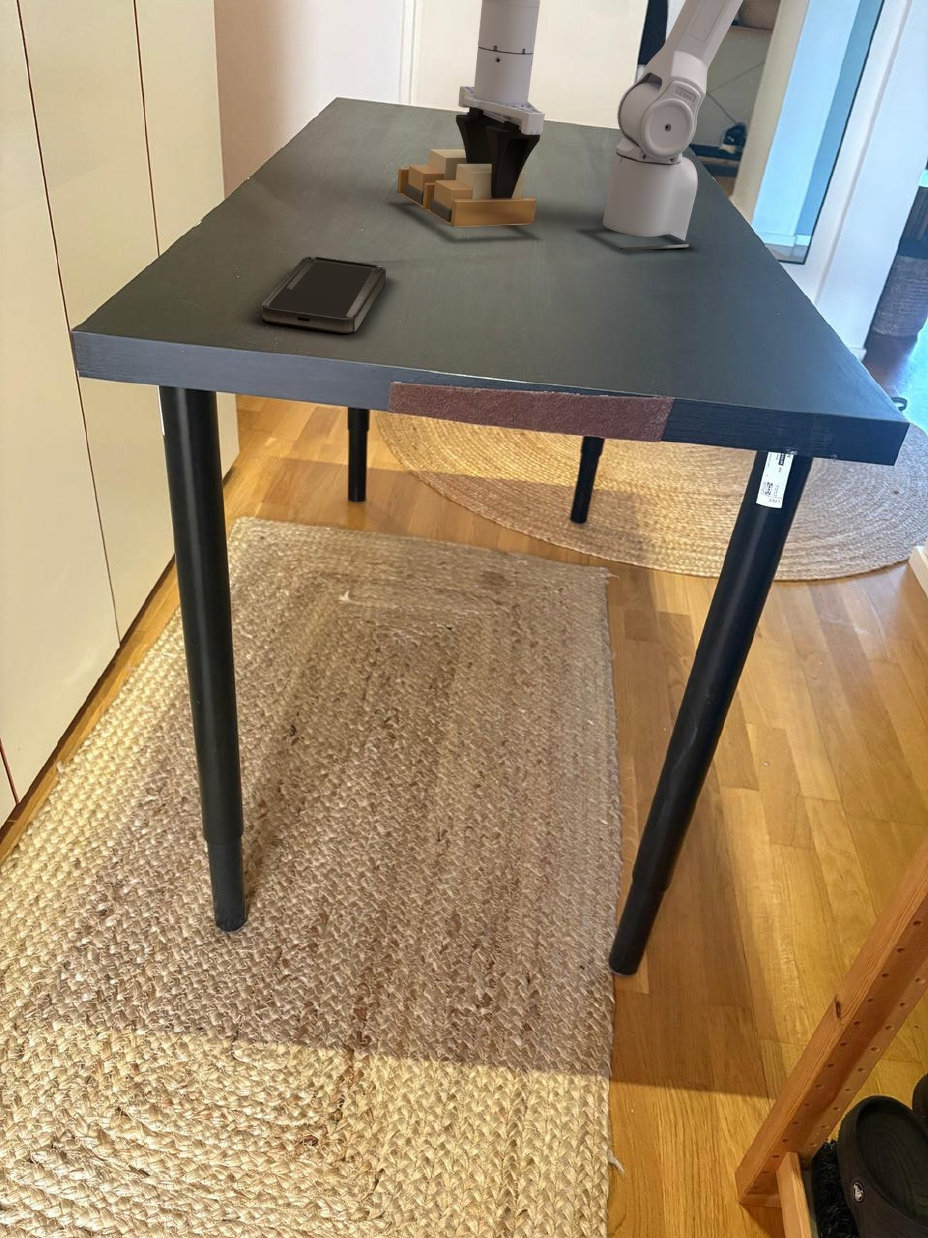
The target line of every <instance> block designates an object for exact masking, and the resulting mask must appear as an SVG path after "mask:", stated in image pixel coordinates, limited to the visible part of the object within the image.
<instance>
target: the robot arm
mask: <svg viewBox="0 0 928 1238" xmlns="http://www.w3.org/2000/svg"><path fill="white" fill-rule="evenodd" d="M743 2H744V0H685V1H684V3H683V5H682V7H681V9H680V11H679V13H678V15H677V17H676V19H675V22H674V23H673V25H672V28H671V30H670V31H669V33H668V36H667V38H666V40H665V42H664V44H663V46H662V47H661V48H660V50H658V52H657V53H656V54H655V55H654V56H653V57H652V58H650V60H649V61H648V63H647V64H646V66H645V68H644V70H643V72H642V74H641V76H639V78H638V79H637V81H636V82H634V84H632V85H631V86H630V87H629V88H628V89H627V90H626V91H625V92H624V93H623V95H622V97H621V99H620V101H619V104H618V108H617V113H616V114H617V115H616V116H617V117H616V118H617V123H618V128H619V130H620V132H621V133H622V138H621V139H620V141H619V142H618V143H617V145H616V147H615V153H614V159H613V165H612V169H611V176H610V180H609V186H608V191H607V196H606V201H605V202H606V203H605V208H604V212H603V219H602V225H603V226H604V227H605V228H606V229H608V230H611V231H614V232H617V233H620V234H624V235H628V236H636V237H645V238H648V237H650V238H651V237H652V238H653V237H654V238H655V237H660V236H667V235H671V236H673V237H675V238H677V239H680V240H682V241H684V242H686V237H687V233H688V229H689V224H690V221H691V217H692V212H693V208H694V204H695V199H696V196H697V192H698V183H699V182H698V172H697V169H696V166H695V165H694V163H693V162H692V160H690V159H689V158H687V157H685V156H683V152H684V151H686V149H687V148H688V147H689V146H690V145H691V143H692V141H693V139H694V138H695V137H694V136H695V134H696V131H697V130H696V129H697V125H698V114H699V110H700V108H701V106H702V103H703V101H704V99H705V97H706V94H707V84H708V83H707V82H708V81H707V80H708V70H709V68H710V66H711V64H712V62H713V61H714V58H715V56H716V54H717V52H718V50H719V48H720V46H721V45H722V42H723V41H724V40H725V39H724V38H725V37H726V35H727V33H728V31H729V29H730V27H731V25H732V23H733V21H734V19H735V17H736V15H737V13H738V11H739V10H740V7H741V5H742V3H743ZM540 4H541V0H481V8H480V18H479V19H480V20H479V29H478V31H479V32H478V40H477V51H476V61H475V62H476V63H475V73H474V84H473V86H468V85H467V86H465V85H460V86H459V93H458V95H459V96H458V102H457V103H458V104H457V106H458V107H460V108H463V109H467V108H468V111H467V112H466V114H462V113H461V114H460V113H459V114H456V115H455V123H456V126H457V127H458V130H459V133H460V136H461V139H462V143H463V149H464V150H465V154H466V161H467V164H492V173H491V194H492V199H502V198H512V196H513V193H514V190H515V187H516V185H517V182H518V179H519V176H520V174H521V171H523V169H524V166H525V164H526V163H527V160H528V159H529V157H530V155H531V153H532V152H533V151H534V149H535V147H536V146H537V145H538V143H539V142H540V141H541V135H543V130H544V124H545V115H546V113H545V112H542V111H540V110H538V109H537V108H536V107H535V106H534V105H533V104H531V102H529V93H530V86H531V77H532V70H533V69H532V68H533V63H534V62H533V60H534V55H535V54H534V52H535V46H536V45H535V44H536V37H537V30H538V22H539V13H540V6H541V5H540ZM689 246H690V243H689V244H669V245H667V244H666V245H647V246H632V247H630V246H629V247H628V246H627V247H619V249H620V250H622V251H641V250H642V251H644V250H660V249H661V250H663V249H679V248H682V249H683V248H689Z"/></svg>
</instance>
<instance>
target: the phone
mask: <svg viewBox="0 0 928 1238" xmlns="http://www.w3.org/2000/svg"><path fill="white" fill-rule="evenodd" d="M386 277H387V268H386V267H384V266H381V265H376V264H371V263H365V262H364V263H363V262H356V261H349V260H343V259H337V258H336V259H335V258H330V257H322V256H305V257H303V258H302V259H301V260H300V261H299V262H298V263H297V264H296V265H295V266H294V268H292V270H291V271H290V272H289V273H288V274H287V276H286V277H284V278H283V279H282V281H281V282H280V283H279V284H277V286H276V287H275V288H274V289H273V291H272V292H271V293H270V294H269V295H268V296H267V297H266V299H264V301H263V302H262V303H261V312H262V313H261V314H262V315H261V316H262V319H263V320H264V321H265V322H267V323H271V324H277V325H284V326H292V327H298V328H306V329H312V330H320V331H325V332H326V331H327V332H333V333H340V334H349V333H354V332H356V331H357V330H358V329H359V327H360V326H361V324H362V322H363V321H364V319H365V317H366V316H367V314H368V312H369V310H370V309H371V307H372V305H373V304H374V302H375V300H376V299H377V297H378V296H379V294H380V292H381V290H383V287H384V286H385V285H386V282H387V281H386Z"/></svg>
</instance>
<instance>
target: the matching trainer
mask: <svg viewBox="0 0 928 1238" xmlns="http://www.w3.org/2000/svg"><path fill="white" fill-rule="evenodd" d="M428 160H429V161H428V163H429V164H409V165H408V168H409V176H408V184H405V195H407V196H408V197H410V198H411V199H413V200H415V201H416V202H418V203H419V204H421V205H423V196H424V183H435V181H436V180H456V171H457V164H467V161H466V154H465V149H432V148H431V149H430V150H429V159H428Z"/></svg>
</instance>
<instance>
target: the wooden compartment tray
mask: <svg viewBox="0 0 928 1238" xmlns="http://www.w3.org/2000/svg"><path fill="white" fill-rule="evenodd" d="M408 176H409V167H398V170H397V185H396V186H397V187H396V191H397V193H399V194H400V195H402V196H404V197H405V198H407V199H408V200H410V201H412V202H413V203H415V204H417V205H418V206H420V207H421V208H423V209H425V210H426V211H428V212H429V213H431V214H432V215H434V216H436V217H437V218H439V219H440V220H441V221H444V222H445V223H447V224H448V225H450V226H452V227H453V228H461V227H463V228H464V227H465V228H466V227H488V226H489V227H491V226H515V225H516V226H517V225H534V221H535V213H536V207H537V199H536V198H534V197H522V198H502V199H457V200H453V206H452V217H451V222H447V221H446V220H444V219H443V218H441V217H439V216H438V215H436V214H434V213H433V212H431V211H430V203H431V199H434V189H435V183H424V196H423V205H421V204H419V203H418V202H416V201H415V200H413V199H411V198H410V197H408V196H407V195H405V184H408Z"/></svg>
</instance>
